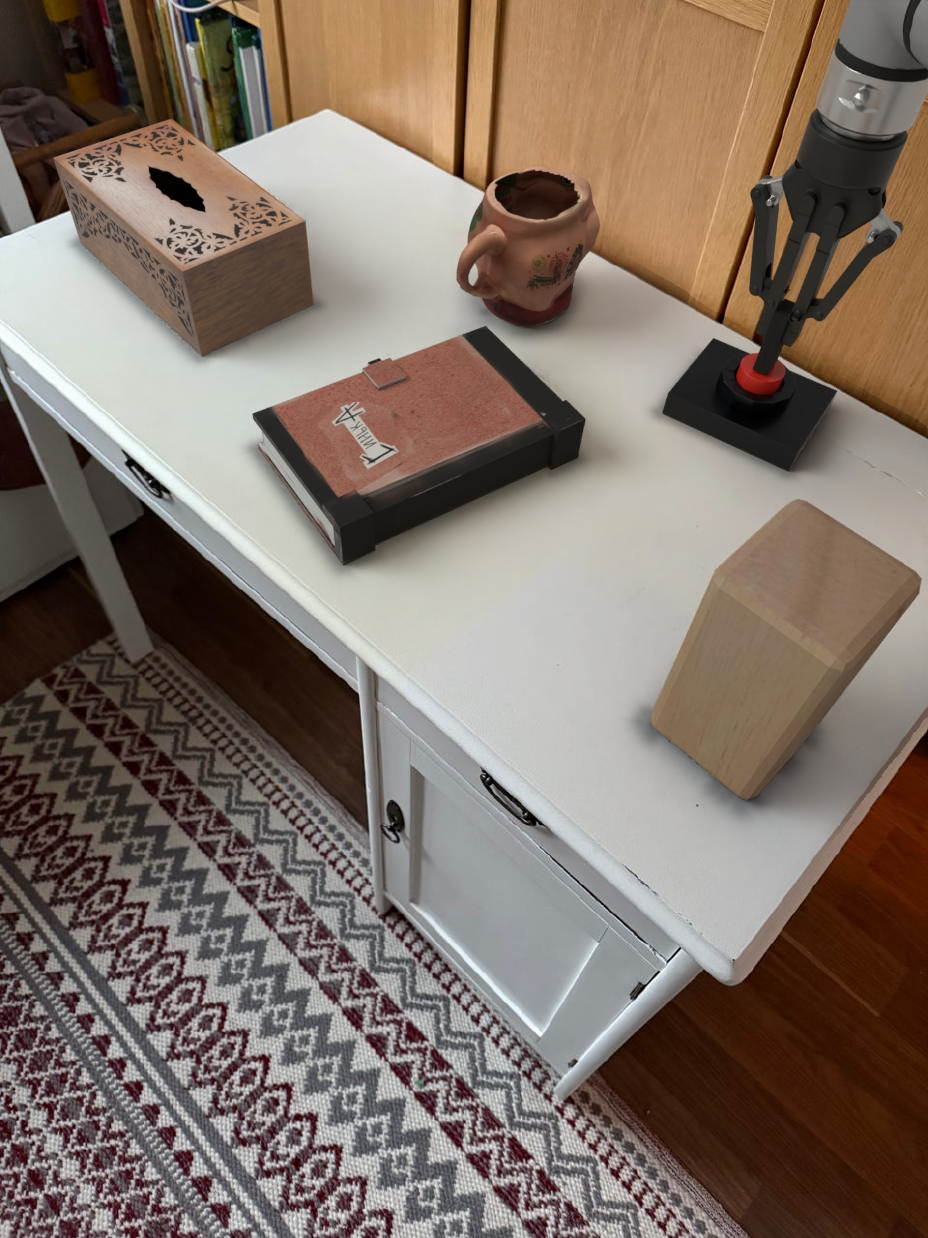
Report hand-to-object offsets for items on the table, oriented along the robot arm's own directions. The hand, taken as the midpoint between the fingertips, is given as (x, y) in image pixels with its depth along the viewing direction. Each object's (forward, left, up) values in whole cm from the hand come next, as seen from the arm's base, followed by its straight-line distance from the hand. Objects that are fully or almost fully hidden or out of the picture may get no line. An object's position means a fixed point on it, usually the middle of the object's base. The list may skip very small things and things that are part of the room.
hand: (764, 364), depth 89 cm
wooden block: (-14, +35, -6) cm, 39 cm away
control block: (0, 0, -6) cm, 6 cm away
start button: (0, 0, -2) cm, 2 cm away
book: (+24, +25, -6) cm, 35 cm away
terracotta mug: (+28, 0, -6) cm, 29 cm away
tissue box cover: (+61, +17, -6) cm, 64 cm away
